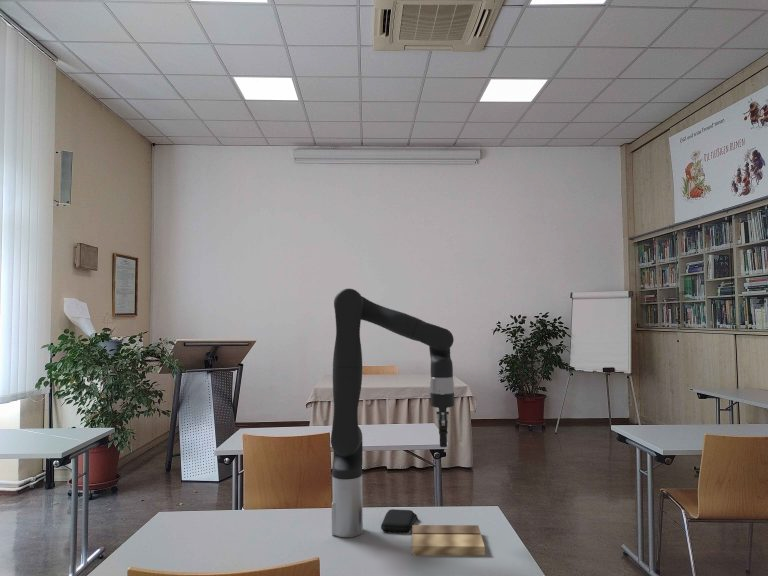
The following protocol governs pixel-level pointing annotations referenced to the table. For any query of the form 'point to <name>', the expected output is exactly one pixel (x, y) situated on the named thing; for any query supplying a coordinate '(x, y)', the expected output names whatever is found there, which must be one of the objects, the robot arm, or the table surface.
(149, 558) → the table surface
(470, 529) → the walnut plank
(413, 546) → the oak plank
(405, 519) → the carrying case or bag
